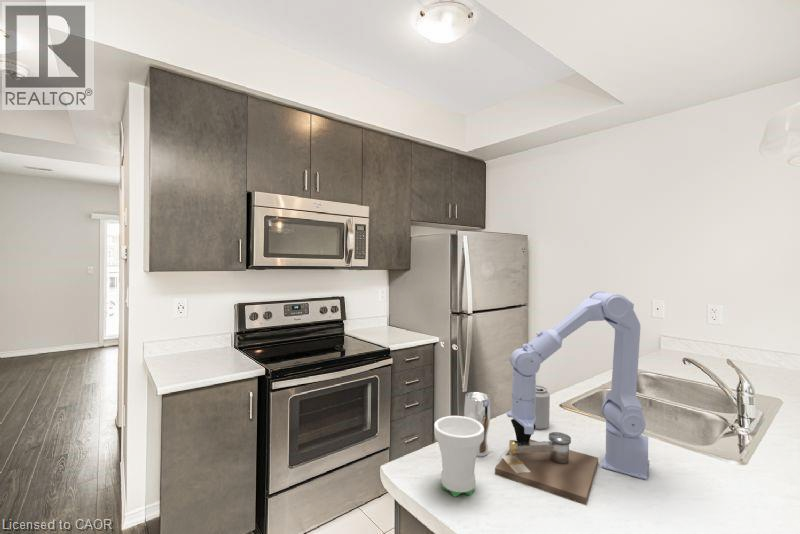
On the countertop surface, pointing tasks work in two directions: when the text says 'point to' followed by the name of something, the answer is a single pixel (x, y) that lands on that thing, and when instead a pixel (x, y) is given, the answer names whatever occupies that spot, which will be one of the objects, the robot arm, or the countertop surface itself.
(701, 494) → the countertop surface
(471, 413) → the beer glass
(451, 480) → the cup
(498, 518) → the countertop surface
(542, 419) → the can
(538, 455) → the brown flat wooden board
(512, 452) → the grey bar with knobs
